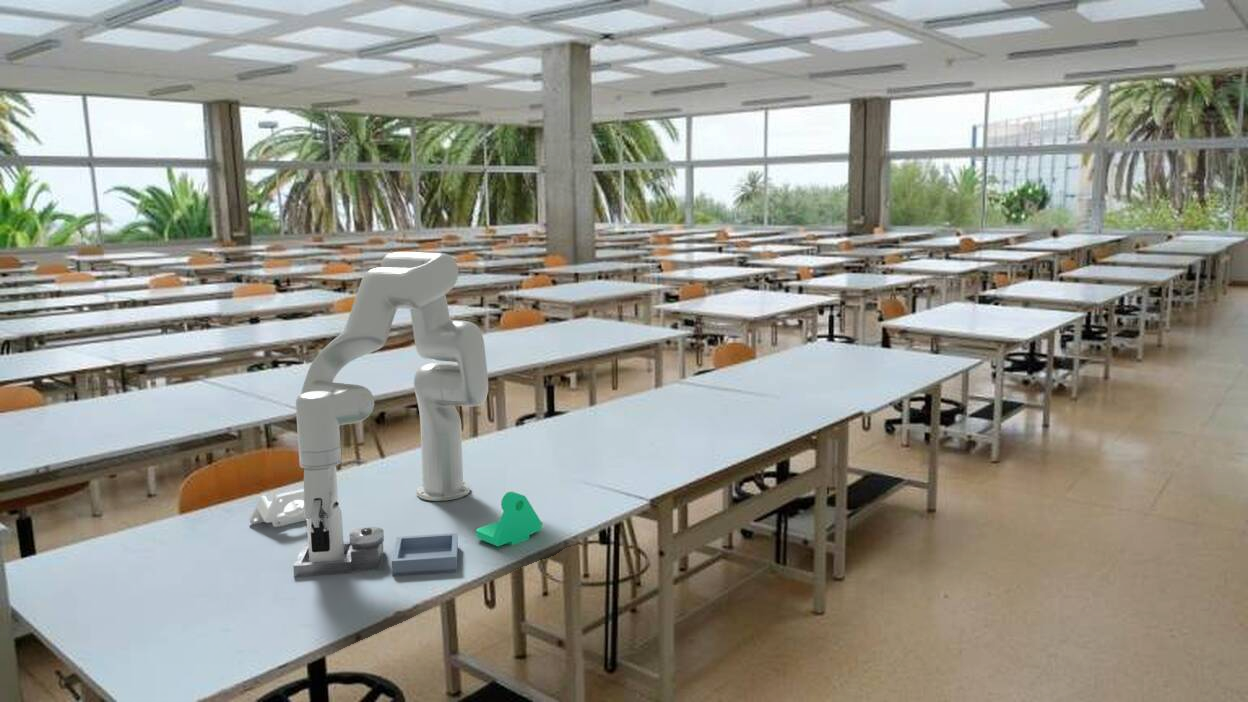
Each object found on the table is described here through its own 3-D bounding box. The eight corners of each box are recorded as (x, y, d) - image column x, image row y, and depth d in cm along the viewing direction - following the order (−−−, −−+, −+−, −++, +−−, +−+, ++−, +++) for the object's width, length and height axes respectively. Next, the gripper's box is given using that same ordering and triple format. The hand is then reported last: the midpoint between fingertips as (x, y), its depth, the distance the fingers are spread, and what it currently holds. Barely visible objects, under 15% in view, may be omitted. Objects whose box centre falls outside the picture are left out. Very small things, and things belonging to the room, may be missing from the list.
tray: (397, 550, 177) (396, 536, 177) (458, 546, 179) (457, 533, 179) (392, 576, 166) (391, 561, 165) (456, 571, 168) (456, 556, 167)
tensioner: (304, 554, 176) (302, 524, 174) (387, 549, 178) (385, 519, 177) (294, 576, 166) (291, 544, 164) (382, 570, 168) (380, 539, 167)
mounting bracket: (256, 539, 189) (260, 501, 184) (246, 520, 193) (250, 482, 188) (311, 525, 196) (316, 488, 191) (301, 507, 200) (305, 470, 195)
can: (348, 556, 175) (345, 499, 173) (339, 570, 168) (335, 510, 166) (315, 557, 174) (311, 499, 172) (305, 571, 168) (301, 511, 166)
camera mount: (518, 525, 191) (517, 480, 190) (542, 534, 186) (541, 488, 185) (474, 541, 183) (472, 494, 181) (498, 551, 178) (496, 503, 176)
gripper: (307, 444, 175) (313, 526, 178) (290, 471, 159) (296, 560, 161) (346, 443, 177) (351, 524, 179) (333, 468, 160) (338, 557, 163)
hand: (325, 541), depth 170 cm, fingers open, 9 cm apart
